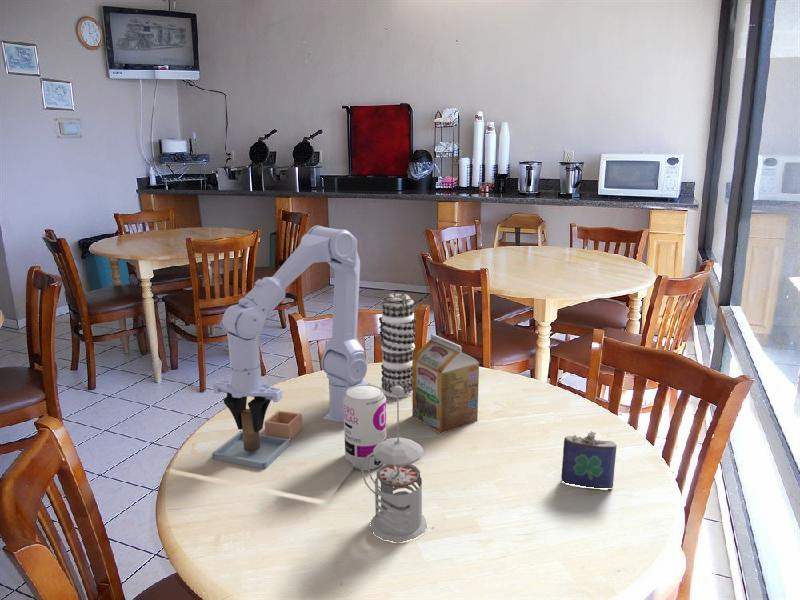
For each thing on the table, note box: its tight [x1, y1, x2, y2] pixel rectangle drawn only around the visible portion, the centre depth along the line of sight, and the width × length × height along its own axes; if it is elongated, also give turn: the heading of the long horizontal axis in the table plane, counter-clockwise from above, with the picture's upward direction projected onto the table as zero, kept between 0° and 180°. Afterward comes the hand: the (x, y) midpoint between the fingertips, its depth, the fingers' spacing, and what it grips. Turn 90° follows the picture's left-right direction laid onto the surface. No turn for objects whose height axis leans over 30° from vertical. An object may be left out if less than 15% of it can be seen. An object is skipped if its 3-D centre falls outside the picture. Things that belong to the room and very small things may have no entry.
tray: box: [211, 430, 291, 470], centre depth 124 cm, size 12×10×2 cm
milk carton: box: [411, 333, 480, 434], centre depth 137 cm, size 11×11×19 cm
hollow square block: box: [264, 410, 303, 441], centre depth 132 cm, size 6×6×4 cm
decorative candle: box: [378, 292, 418, 399], centre depth 151 cm, size 9×9×25 cm
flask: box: [560, 431, 617, 489], centre depth 111 cm, size 9×3×11 cm, turn 74°
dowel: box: [241, 407, 260, 452], centre depth 123 cm, size 3×3×8 cm
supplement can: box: [343, 384, 388, 471], centre depth 120 cm, size 8×8×15 cm
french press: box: [361, 386, 428, 542], centre depth 99 cm, size 10×12×25 cm
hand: (250, 428), depth 123 cm, fingers closed on dowel, 3 cm apart
